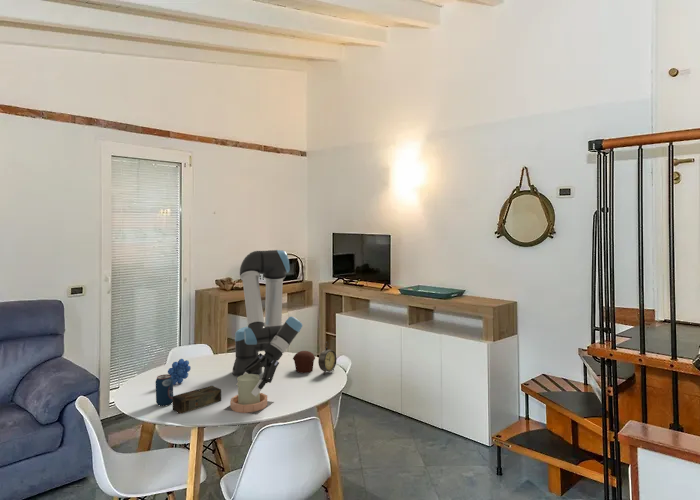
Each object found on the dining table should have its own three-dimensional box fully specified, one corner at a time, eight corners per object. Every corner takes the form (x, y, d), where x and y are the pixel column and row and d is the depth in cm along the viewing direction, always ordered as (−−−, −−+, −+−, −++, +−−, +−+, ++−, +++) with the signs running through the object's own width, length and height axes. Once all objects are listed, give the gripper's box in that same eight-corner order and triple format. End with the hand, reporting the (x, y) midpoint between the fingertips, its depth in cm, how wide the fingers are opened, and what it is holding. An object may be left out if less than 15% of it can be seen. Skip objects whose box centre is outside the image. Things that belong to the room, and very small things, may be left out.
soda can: (173, 405, 200) (172, 377, 200) (156, 407, 198) (154, 379, 197) (173, 399, 207) (172, 373, 206) (156, 402, 204) (155, 375, 204)
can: (255, 409, 192) (254, 380, 191) (234, 407, 193) (233, 379, 193) (263, 400, 201) (263, 373, 200) (243, 399, 202) (242, 372, 202)
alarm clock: (325, 376, 236) (324, 344, 235) (316, 374, 239) (316, 343, 238) (337, 370, 245) (336, 339, 245) (328, 369, 248) (328, 338, 247)
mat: (223, 411, 193) (223, 409, 193) (242, 399, 206) (242, 397, 206) (257, 415, 188) (257, 414, 188) (274, 403, 201) (274, 402, 201)
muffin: (316, 367, 252) (315, 348, 252) (315, 373, 241) (314, 354, 241) (293, 367, 252) (293, 349, 251) (292, 374, 241) (291, 354, 240)
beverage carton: (222, 402, 203) (222, 387, 203) (180, 416, 189) (180, 400, 189) (212, 398, 209) (212, 383, 209) (171, 411, 195) (170, 395, 194)
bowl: (223, 410, 192) (223, 403, 192) (243, 397, 207) (243, 390, 206) (255, 414, 187) (255, 407, 187) (273, 401, 201) (273, 394, 201)
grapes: (187, 378, 236) (186, 355, 235) (193, 381, 231) (192, 357, 230) (164, 384, 228) (163, 360, 227) (169, 387, 223) (169, 362, 222)
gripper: (256, 338, 212) (226, 378, 204) (286, 349, 193) (254, 393, 184) (267, 348, 216) (238, 387, 207) (297, 359, 197) (266, 403, 188)
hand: (245, 390), depth 196 cm, fingers open, 13 cm apart
